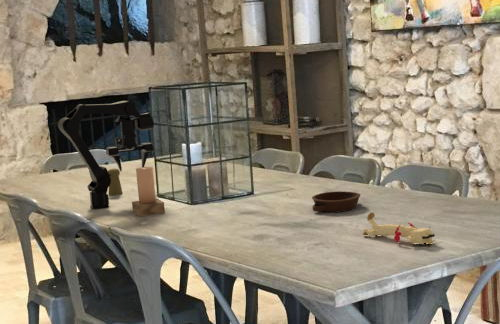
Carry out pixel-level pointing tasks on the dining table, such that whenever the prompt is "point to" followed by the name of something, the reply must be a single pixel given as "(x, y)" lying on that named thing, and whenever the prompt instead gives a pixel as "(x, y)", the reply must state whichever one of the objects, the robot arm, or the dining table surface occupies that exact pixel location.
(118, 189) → the olive chess pawn
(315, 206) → the dish
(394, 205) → the dining table surface
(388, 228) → the cat figure
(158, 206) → the walnut riser
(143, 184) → the salmon pink block
